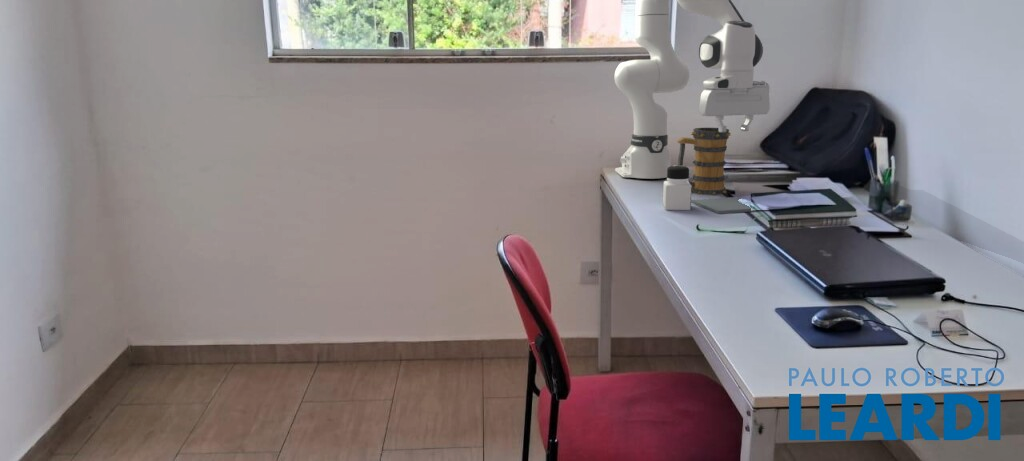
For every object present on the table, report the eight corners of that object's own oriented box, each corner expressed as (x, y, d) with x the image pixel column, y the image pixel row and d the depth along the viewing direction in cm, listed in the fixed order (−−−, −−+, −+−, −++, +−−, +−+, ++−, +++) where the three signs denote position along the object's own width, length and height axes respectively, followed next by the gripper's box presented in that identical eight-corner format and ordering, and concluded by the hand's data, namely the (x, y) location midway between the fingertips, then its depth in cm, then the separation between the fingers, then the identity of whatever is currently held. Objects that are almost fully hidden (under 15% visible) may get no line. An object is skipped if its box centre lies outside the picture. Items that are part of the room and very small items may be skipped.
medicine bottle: (690, 210, 213) (692, 168, 210) (665, 210, 214) (666, 168, 211) (687, 205, 220) (689, 164, 217) (662, 205, 221) (664, 164, 218)
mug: (735, 196, 232) (739, 131, 227) (681, 198, 230) (684, 132, 225) (719, 189, 245) (723, 126, 240) (668, 190, 243) (670, 127, 238)
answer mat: (690, 202, 224) (690, 200, 223) (738, 199, 228) (739, 196, 227) (718, 213, 209) (718, 211, 208) (769, 210, 212) (769, 207, 212)
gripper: (763, 80, 215) (760, 129, 218) (697, 81, 210) (695, 131, 213) (776, 81, 209) (772, 131, 213) (709, 82, 204) (706, 134, 207)
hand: (733, 131), depth 213 cm, fingers open, 6 cm apart
